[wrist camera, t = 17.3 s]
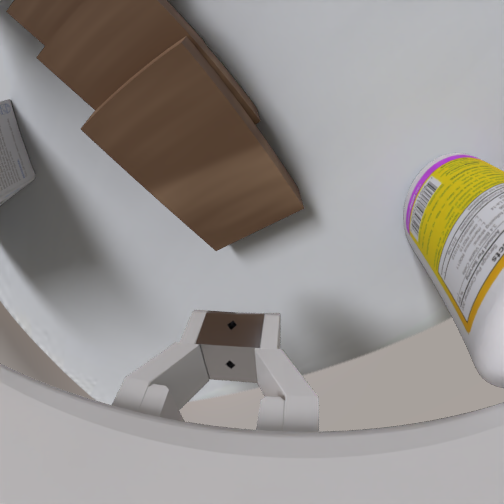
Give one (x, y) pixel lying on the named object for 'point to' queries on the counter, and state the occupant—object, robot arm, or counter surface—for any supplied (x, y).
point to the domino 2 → (122, 47)
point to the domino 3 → (195, 148)
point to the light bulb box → (12, 155)
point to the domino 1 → (47, 16)
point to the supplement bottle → (464, 249)
